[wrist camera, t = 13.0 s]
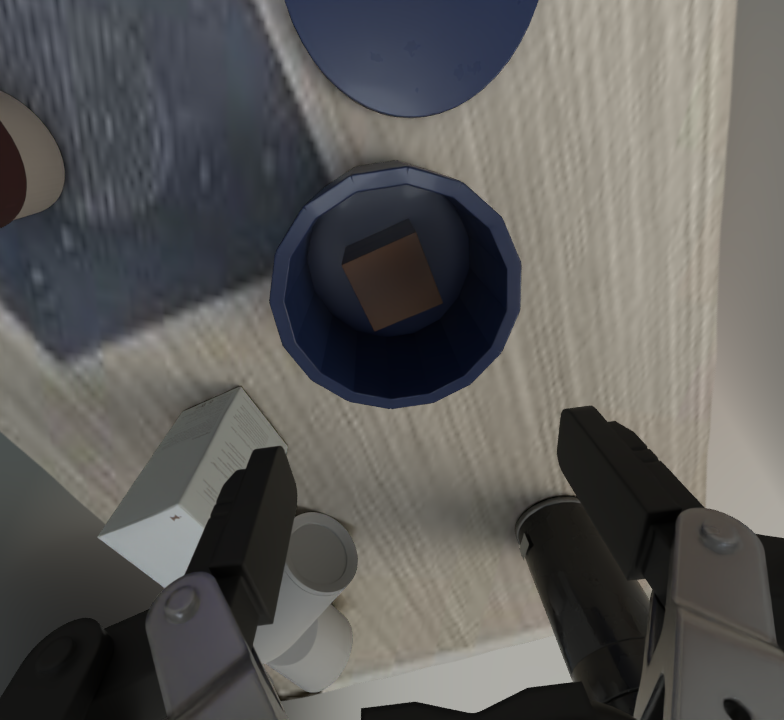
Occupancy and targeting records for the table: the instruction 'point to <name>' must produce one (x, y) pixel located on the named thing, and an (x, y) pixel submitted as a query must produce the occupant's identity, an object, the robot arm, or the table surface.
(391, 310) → the block
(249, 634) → the robot arm
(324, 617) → the bent grey cylinder
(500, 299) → the tin
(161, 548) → the small box
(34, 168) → the coffee cup
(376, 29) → the lid
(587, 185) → the table surface
